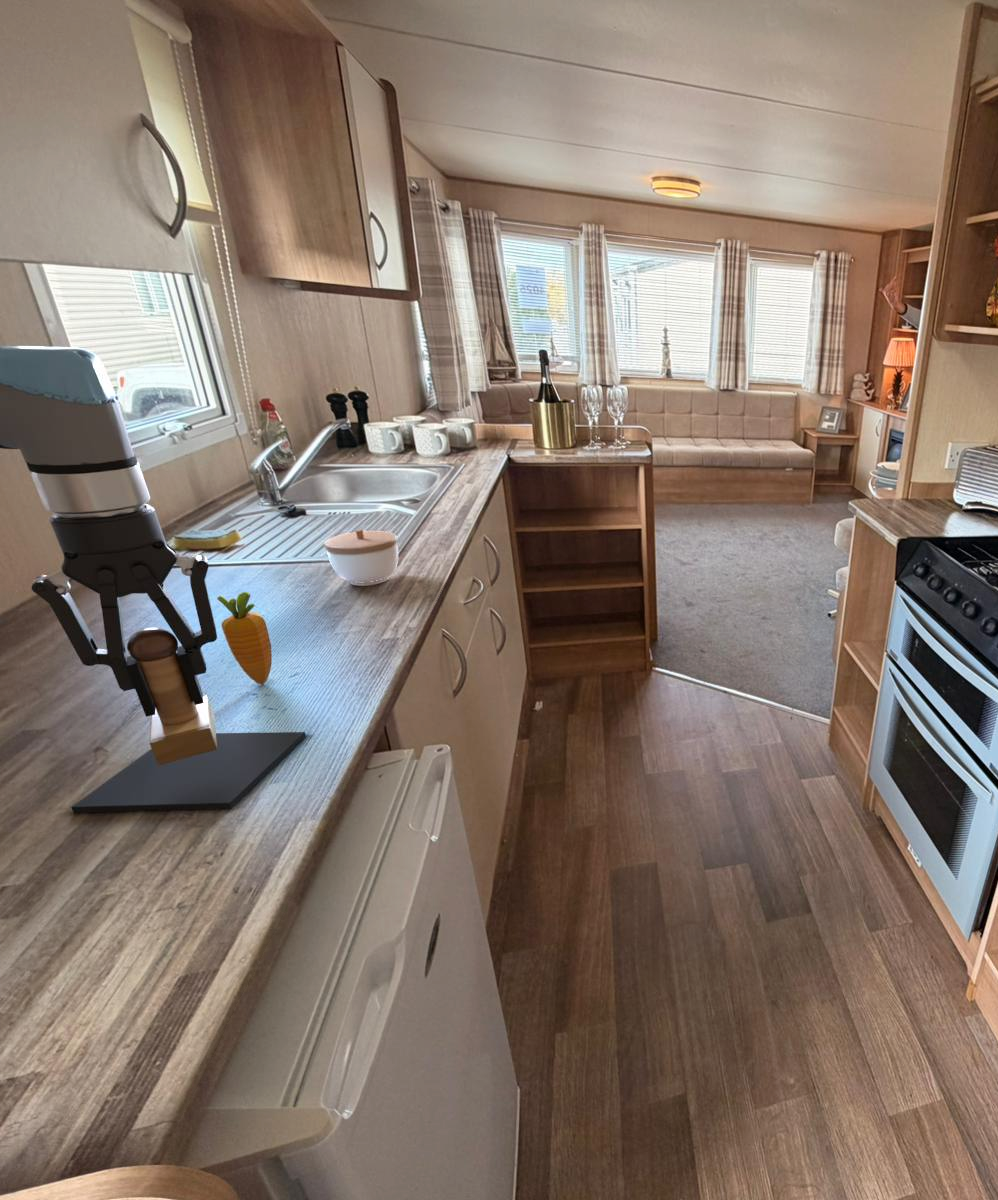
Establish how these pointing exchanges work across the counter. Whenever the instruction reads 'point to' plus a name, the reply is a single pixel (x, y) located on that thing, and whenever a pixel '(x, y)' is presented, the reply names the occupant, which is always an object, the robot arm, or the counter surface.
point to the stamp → (171, 699)
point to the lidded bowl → (363, 556)
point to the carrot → (248, 638)
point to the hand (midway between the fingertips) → (175, 704)
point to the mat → (194, 776)
